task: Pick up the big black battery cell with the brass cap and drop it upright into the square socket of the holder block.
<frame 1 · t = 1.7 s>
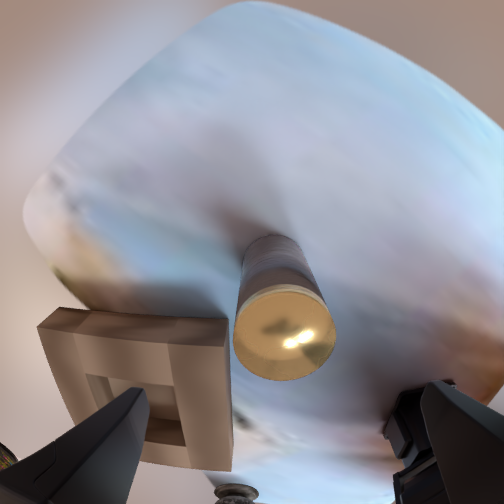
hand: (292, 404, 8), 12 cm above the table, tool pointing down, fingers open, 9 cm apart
battery cell: (274, 264, 20), on the table
supplement container: (5, 450, 31), on the table
holder block: (148, 386, 24), on the table
weathered candle holder: (236, 492, 29), on the table
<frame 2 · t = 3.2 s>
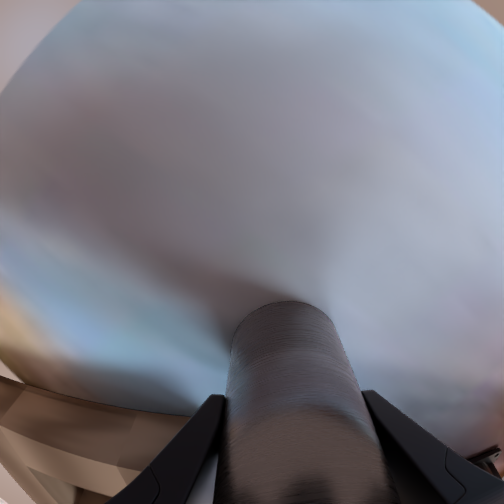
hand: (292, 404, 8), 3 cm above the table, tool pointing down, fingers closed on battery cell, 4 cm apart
battery cell: (285, 348, 11), on the table, touching gripper
holder block: (113, 472, 15), on the table
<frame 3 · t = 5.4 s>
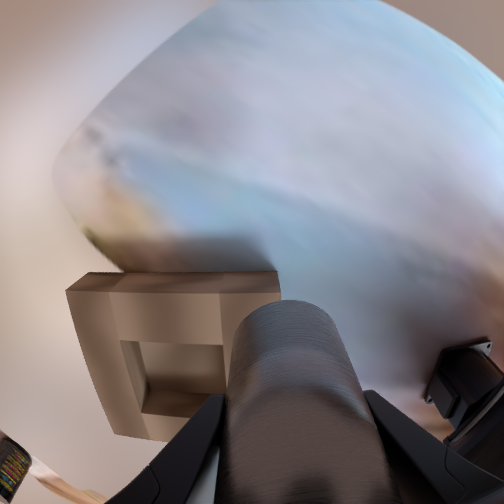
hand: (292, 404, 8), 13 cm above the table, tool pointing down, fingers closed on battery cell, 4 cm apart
battery cell: (286, 347, 11), point 10 cm above the table, touching gripper
supplement container: (17, 448, 31), on the table
holder block: (185, 356, 23), on the table
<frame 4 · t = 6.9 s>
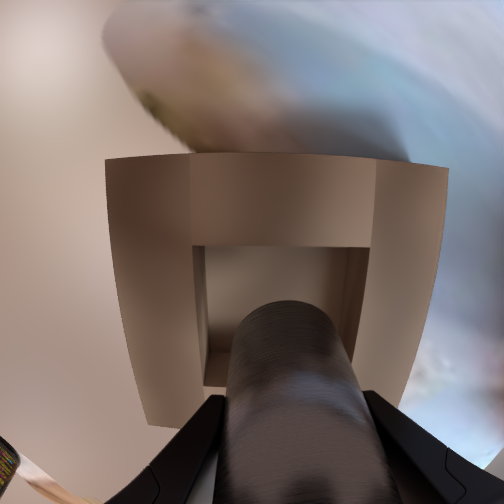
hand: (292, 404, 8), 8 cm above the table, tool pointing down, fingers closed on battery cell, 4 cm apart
battery cell: (285, 347, 11), point 5 cm above the table, touching gripper
supplement container: (3, 444, 24), on the table
holder block: (275, 292, 16), on the table
when the fingers open (5 cm above the table, at t = 7.8 s): battery cell drops 1 cm, resting on holder block.
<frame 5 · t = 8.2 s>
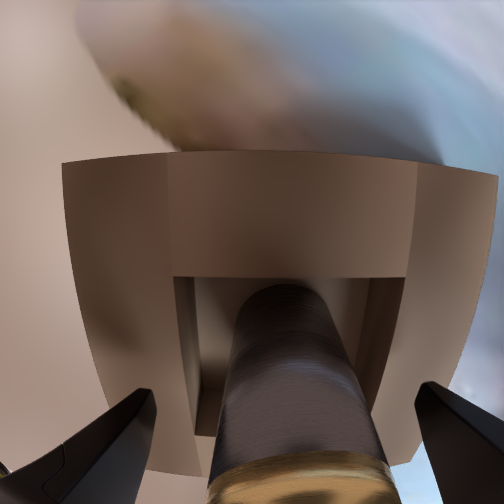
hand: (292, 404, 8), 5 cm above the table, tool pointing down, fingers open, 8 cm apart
battery cell: (283, 328, 13), point 1 cm above the table, touching holder block
holder block: (281, 323, 13), on the table
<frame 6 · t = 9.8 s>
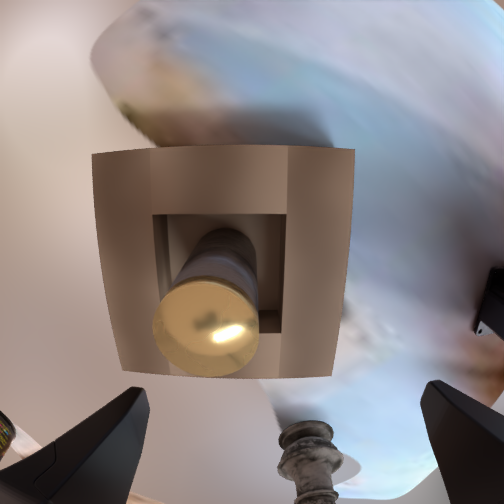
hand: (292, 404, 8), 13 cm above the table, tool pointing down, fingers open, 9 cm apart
battery cell: (224, 259, 20), point 1 cm above the table, touching holder block
supplement container: (0, 418, 28), on the table
holder block: (224, 257, 20), on the table
weathered candle holder: (305, 436, 26), on the table
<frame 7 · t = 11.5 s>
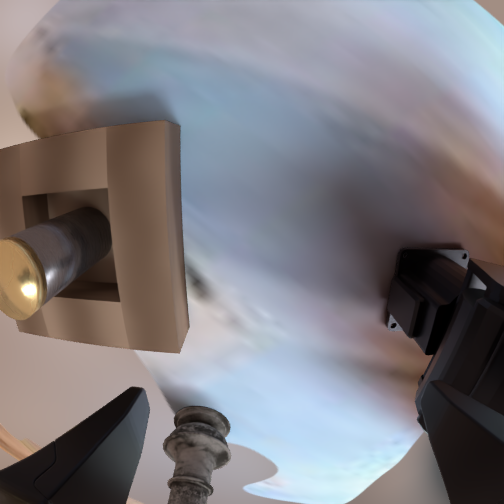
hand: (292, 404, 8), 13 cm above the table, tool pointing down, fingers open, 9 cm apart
battery cell: (88, 234, 20), point 1 cm above the table, touching holder block
holder block: (91, 234, 21), on the table
weathered candle holder: (202, 423, 26), on the table
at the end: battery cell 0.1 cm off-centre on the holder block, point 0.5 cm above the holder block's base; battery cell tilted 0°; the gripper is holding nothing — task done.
